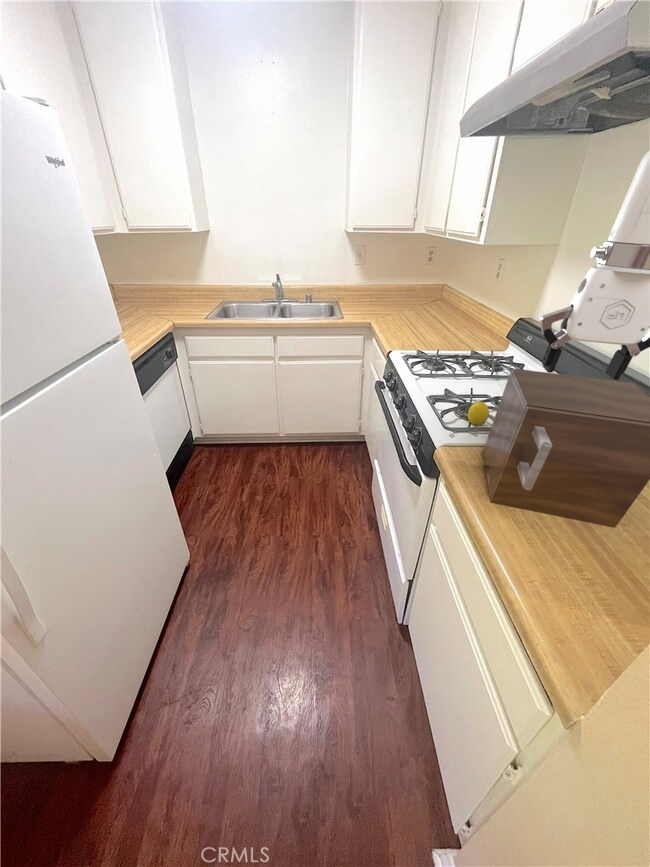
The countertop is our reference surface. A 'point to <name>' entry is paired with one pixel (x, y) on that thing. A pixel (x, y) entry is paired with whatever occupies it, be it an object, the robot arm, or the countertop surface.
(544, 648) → the countertop surface
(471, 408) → the lemon
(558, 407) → the cupboard
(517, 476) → the door
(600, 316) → the robot arm
